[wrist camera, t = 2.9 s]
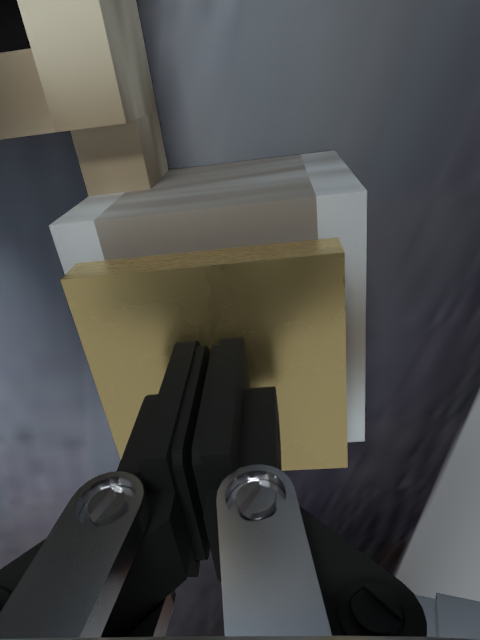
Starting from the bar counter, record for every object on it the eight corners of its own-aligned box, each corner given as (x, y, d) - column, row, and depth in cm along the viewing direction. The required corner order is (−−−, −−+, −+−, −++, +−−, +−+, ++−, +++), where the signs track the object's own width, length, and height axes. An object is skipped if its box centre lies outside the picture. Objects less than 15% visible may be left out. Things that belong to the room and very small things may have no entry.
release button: (129, 208, 16) (60, 279, 10) (317, 187, 15) (344, 252, 10) (166, 363, 19) (127, 478, 14) (324, 351, 18) (347, 467, 13)
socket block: (-413, -353, 11) (-991, -708, 6) (318, -555, 10) (381, -1317, 4) (-45, 372, 22) (-143, 468, 17) (339, 342, 20) (364, 441, 15)
